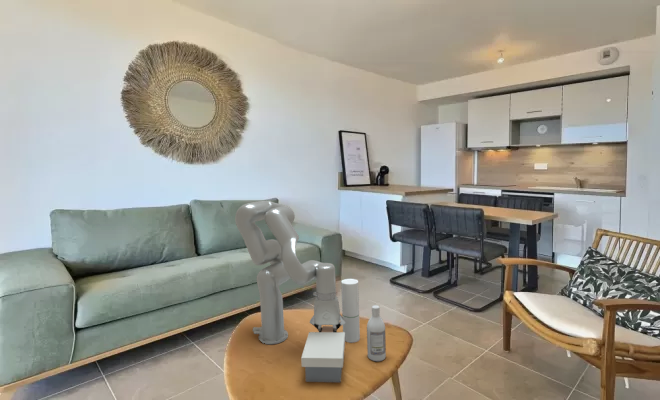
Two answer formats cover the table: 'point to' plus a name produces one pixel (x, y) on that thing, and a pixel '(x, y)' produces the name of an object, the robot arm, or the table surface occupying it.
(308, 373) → the tub
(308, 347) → the lid
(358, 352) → the table surface
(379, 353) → the bath foam
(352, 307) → the cylindrical container
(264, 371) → the table surface
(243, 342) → the table surface
